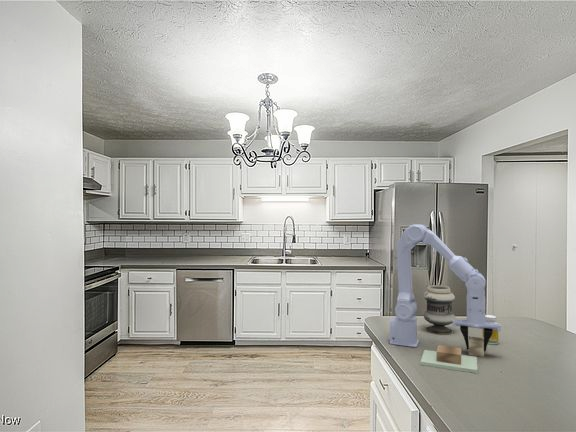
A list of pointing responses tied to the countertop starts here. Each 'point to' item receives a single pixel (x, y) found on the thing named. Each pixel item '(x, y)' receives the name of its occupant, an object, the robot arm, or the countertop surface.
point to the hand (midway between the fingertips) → (476, 349)
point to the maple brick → (476, 346)
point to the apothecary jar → (439, 309)
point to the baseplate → (466, 363)
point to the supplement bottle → (494, 336)
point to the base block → (449, 354)
